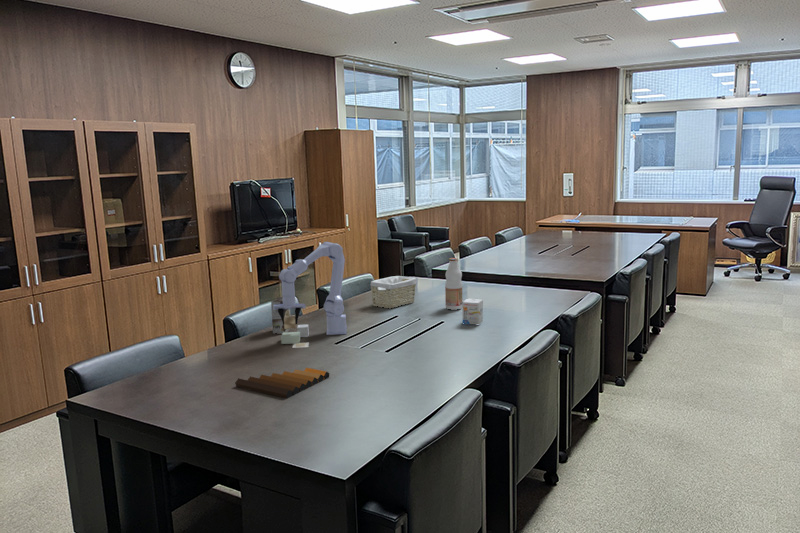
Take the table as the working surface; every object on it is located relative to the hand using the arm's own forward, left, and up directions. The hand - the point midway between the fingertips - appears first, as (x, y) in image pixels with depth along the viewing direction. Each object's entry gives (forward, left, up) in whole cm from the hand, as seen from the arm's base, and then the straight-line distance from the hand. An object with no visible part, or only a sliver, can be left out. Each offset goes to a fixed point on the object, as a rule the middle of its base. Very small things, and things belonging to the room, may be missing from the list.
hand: (290, 324), depth 286 cm
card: (-5, +7, -8) cm, 12 cm away
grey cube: (-5, -9, -9) cm, 13 cm away
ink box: (-89, -18, -9) cm, 91 cm away
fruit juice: (-85, -50, -9) cm, 99 cm away
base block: (0, 0, -8) cm, 8 cm away
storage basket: (-53, -66, -9) cm, 85 cm away
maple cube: (0, 0, -1) cm, 1 cm away
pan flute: (-2, +53, -9) cm, 54 cm away
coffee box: (+6, -19, -9) cm, 22 cm away
